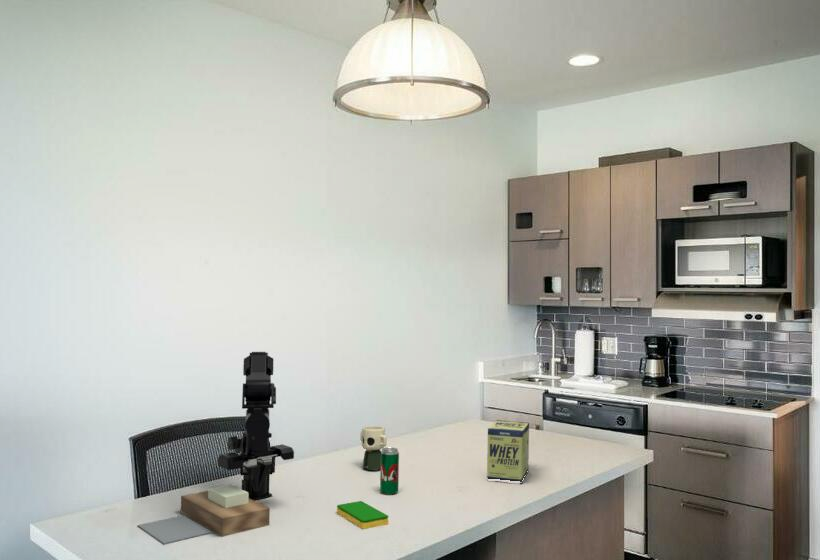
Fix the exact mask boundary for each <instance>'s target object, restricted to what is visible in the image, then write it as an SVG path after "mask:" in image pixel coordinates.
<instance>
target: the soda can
mask: <svg viewBox="0 0 820 560" xmlns="http://www.w3.org/2000/svg"><path fill="white" fill-rule="evenodd" d="M399 463H400V452H399V451H398V448H397V447H391V446H390V447H384V448H382V449H381V467H380V472H379V473H380V474H379V475H380V476H379V477H380V478H379V479H380V480H379V481H380V483H379V491H380V492H381V494H383V495H386V494H392V495H395V493H396V494H397V493H398V492H399V485H400V484H399V481H400V480H399V479H400V478H399V477H400V476H399V475H400V474H399V473H400V471H399V470H400V464H399Z"/></svg>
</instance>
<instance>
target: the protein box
mask: <svg viewBox="0 0 820 560" xmlns="http://www.w3.org/2000/svg"><path fill="white" fill-rule="evenodd" d="M529 441H530V422H524V421H511V420H503V419H502V420H500V419H499V420H498V419H497V420H496V421H495V422H494V423H492V424H491V425H490V427H489V428H487V452H486V453H487V455H486V456H487V457H486V459H487V460H486V462H487V463H486V465H487V466H486V479H487V478H488V479H500V480H510V481H520V482H522V480H523V478H524V476H525V475H526V473H527V471H528V472H529V462H530V461H529V459H530V458H529V455H530V452H529V451H530V449H529V448H530V446H529V445H530V443H529ZM527 474H528V473H527ZM526 476H527V475H526ZM523 481H524V480H523ZM522 483H523V482H522Z"/></svg>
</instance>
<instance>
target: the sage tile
mask: <svg viewBox="0 0 820 560" xmlns="http://www.w3.org/2000/svg"><path fill="white" fill-rule="evenodd" d="M207 491H208V499H209V500H211V501H213V502H215V503H217V504H219V505H221V506H223V507H225V508H228V507H232V506H237V505H242V504H246V503H248V497H249V493H248V492H246V491H244V490H242V488H239V487H237V486H235V485H234V484H226V485H221V486H214V487H211V488H208V489H207Z"/></svg>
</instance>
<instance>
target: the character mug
mask: <svg viewBox="0 0 820 560" xmlns="http://www.w3.org/2000/svg"><path fill="white" fill-rule="evenodd" d="M359 435H360V437H359V438H360V442H361V447H362V448H363V450H364V449H365V451H364V455H363V462H362V468H363V469H364V470H369V471H377V470H379V469H380V467H381V452H382V449H383V448H385V447H386V446H387V440H388V439H387V435H386V428H385V427H384V426H382V425H364V426H362V428H361V431H360V433H359Z"/></svg>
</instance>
